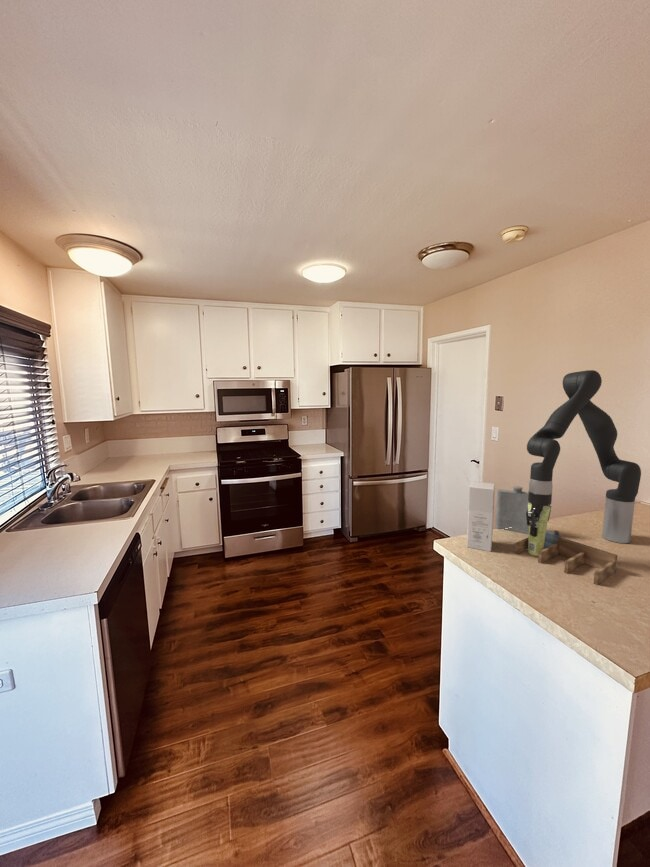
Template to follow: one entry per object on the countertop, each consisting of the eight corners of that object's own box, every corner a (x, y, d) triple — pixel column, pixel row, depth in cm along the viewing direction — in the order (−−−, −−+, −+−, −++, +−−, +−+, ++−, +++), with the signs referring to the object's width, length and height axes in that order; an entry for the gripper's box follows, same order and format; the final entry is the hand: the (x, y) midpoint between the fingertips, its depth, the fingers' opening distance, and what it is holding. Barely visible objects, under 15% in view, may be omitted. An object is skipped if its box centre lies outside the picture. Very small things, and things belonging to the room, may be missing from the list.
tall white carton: (492, 543, 145) (495, 483, 141) (490, 551, 137) (494, 489, 134) (469, 538, 149) (471, 481, 145) (466, 547, 141) (469, 486, 138)
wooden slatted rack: (535, 543, 144) (536, 524, 143) (616, 571, 121) (618, 548, 120) (514, 552, 136) (515, 532, 135) (597, 584, 113) (599, 560, 112)
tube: (538, 550, 138) (542, 502, 135) (547, 556, 133) (551, 506, 130) (524, 551, 138) (527, 502, 135) (533, 557, 132) (536, 507, 130)
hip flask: (494, 528, 159) (496, 485, 157) (496, 525, 163) (498, 483, 160) (535, 536, 151) (538, 490, 148) (536, 533, 154) (539, 488, 151)
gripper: (539, 485, 139) (536, 527, 141) (519, 491, 131) (517, 535, 133) (560, 490, 132) (557, 533, 135) (540, 496, 125) (537, 542, 127)
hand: (537, 534), depth 134 cm, fingers open, 5 cm apart
